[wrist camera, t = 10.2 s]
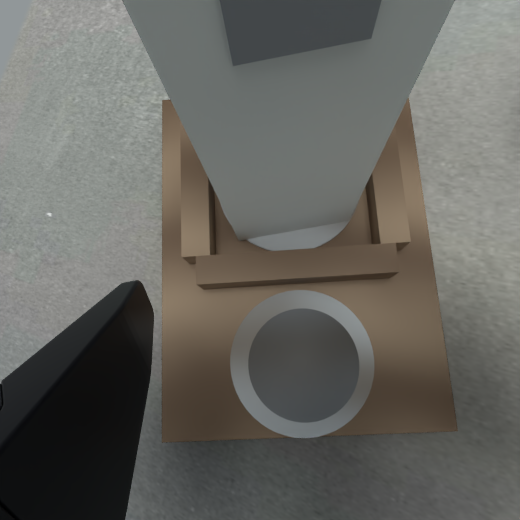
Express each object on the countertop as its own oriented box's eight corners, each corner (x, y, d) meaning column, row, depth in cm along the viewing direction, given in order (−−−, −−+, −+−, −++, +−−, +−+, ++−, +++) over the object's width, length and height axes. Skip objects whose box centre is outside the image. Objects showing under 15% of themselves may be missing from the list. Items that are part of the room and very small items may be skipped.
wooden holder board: (448, 426, 17) (488, 447, 13) (168, 437, 17) (139, 459, 14) (399, 91, 20) (422, 39, 17) (168, 111, 21) (144, 66, 17)
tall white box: (349, 222, 18) (512, -109, 5) (239, 242, 18) (108, -25, 5) (325, 119, 19) (405, -374, 6) (222, 139, 19) (80, -298, 6)
